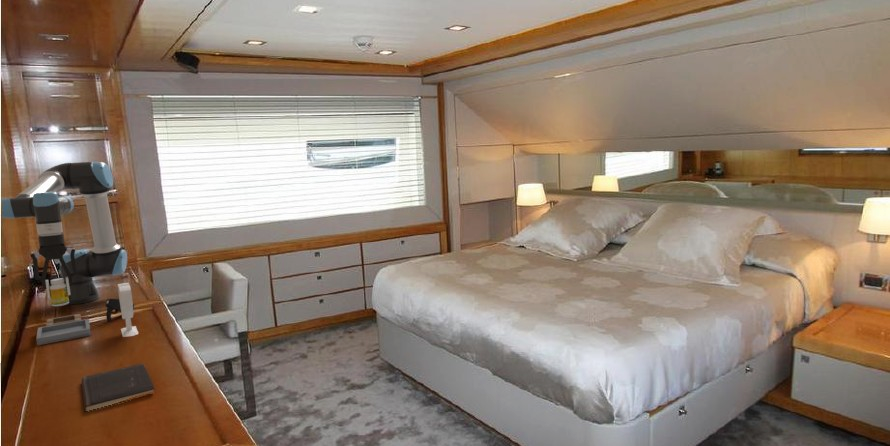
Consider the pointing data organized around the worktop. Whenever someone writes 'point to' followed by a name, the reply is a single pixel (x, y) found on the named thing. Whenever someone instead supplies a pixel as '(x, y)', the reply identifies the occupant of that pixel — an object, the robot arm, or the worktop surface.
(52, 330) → the tray
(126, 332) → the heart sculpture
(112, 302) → the gun
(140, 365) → the hardcover book
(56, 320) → the socket block
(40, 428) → the worktop surface
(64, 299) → the supplement bottle
